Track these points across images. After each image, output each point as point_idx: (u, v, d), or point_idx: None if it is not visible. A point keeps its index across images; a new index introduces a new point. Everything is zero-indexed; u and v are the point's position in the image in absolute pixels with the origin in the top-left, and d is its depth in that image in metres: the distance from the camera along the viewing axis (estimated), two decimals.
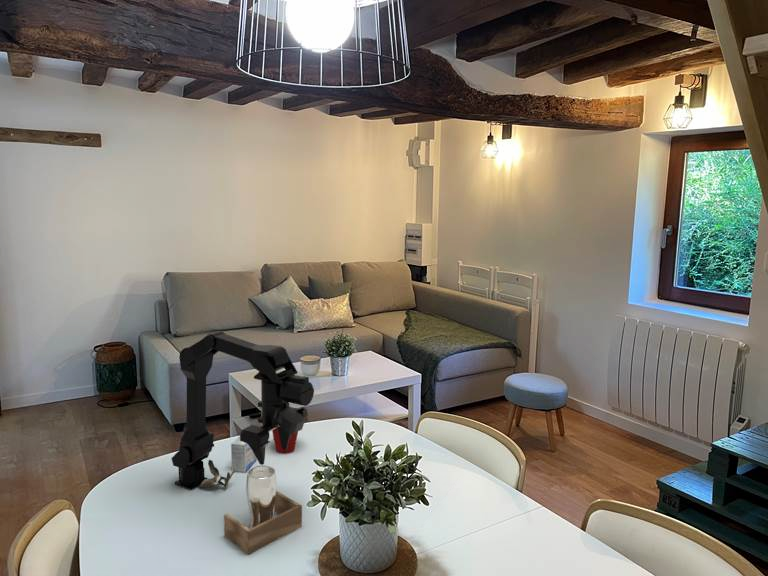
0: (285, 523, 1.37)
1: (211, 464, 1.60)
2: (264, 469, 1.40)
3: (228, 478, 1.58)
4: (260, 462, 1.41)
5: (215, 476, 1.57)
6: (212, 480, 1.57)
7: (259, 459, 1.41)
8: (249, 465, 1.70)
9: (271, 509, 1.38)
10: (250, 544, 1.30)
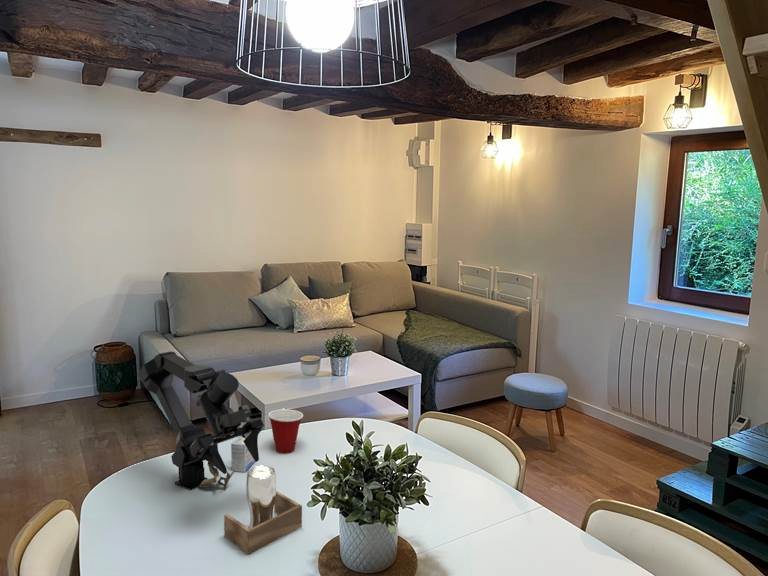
0: (285, 523, 1.37)
1: (211, 464, 1.60)
2: (264, 469, 1.40)
3: (228, 478, 1.58)
4: (223, 471, 1.39)
5: (215, 476, 1.57)
6: (212, 480, 1.57)
7: (221, 468, 1.39)
8: (249, 465, 1.70)
9: (271, 509, 1.38)
10: (250, 544, 1.30)
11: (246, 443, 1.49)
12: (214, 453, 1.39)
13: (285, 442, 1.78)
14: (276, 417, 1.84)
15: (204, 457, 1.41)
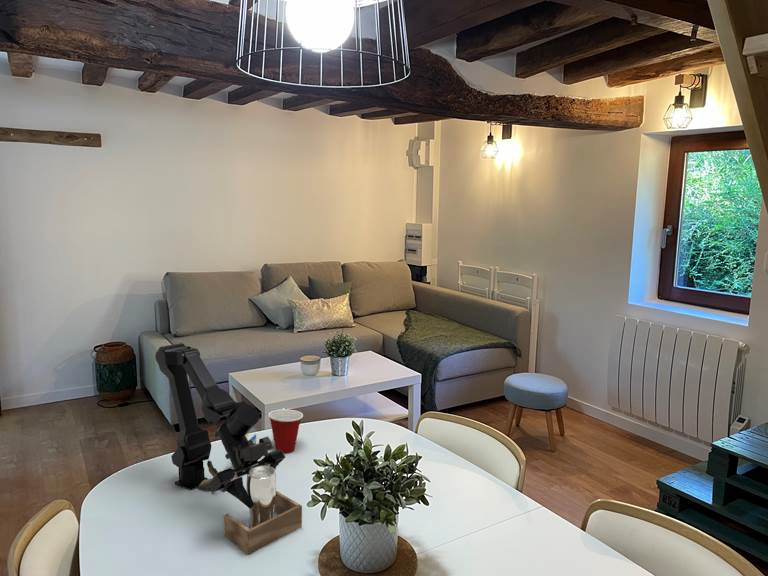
0: (285, 523, 1.37)
1: (210, 465, 1.59)
2: (264, 469, 1.40)
3: None
4: (248, 506, 1.35)
5: None
6: None
7: (246, 503, 1.35)
8: None
9: (271, 509, 1.38)
10: (250, 544, 1.30)
11: None
12: (239, 487, 1.35)
13: (285, 442, 1.78)
14: (276, 417, 1.84)
15: (228, 490, 1.37)
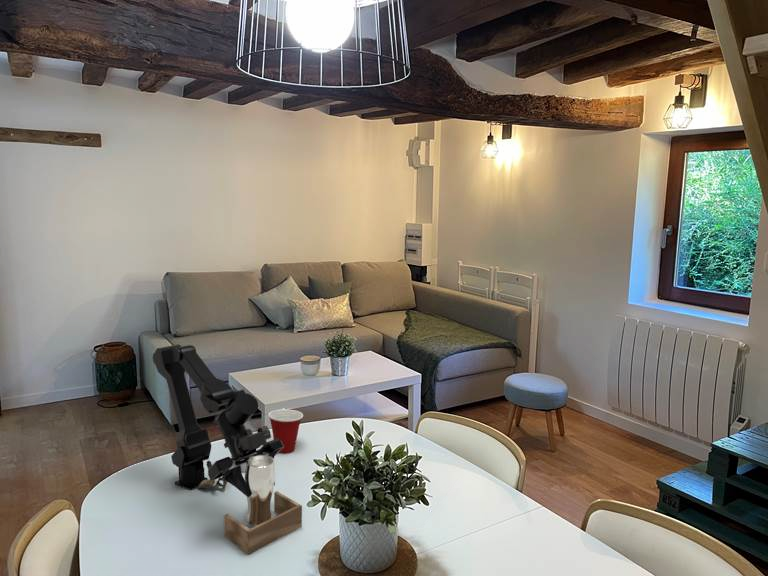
0: (285, 523, 1.37)
1: (209, 465, 1.59)
2: (263, 458, 1.41)
3: None
4: (246, 494, 1.35)
5: None
6: (210, 481, 1.57)
7: (244, 491, 1.36)
8: None
9: (269, 498, 1.38)
10: (250, 544, 1.30)
11: None
12: (237, 475, 1.35)
13: (285, 442, 1.78)
14: (276, 417, 1.84)
15: (227, 479, 1.37)
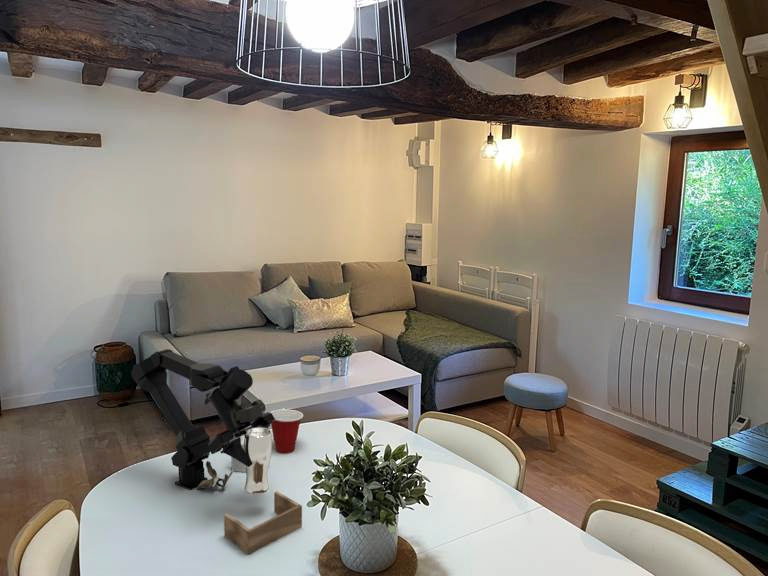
0: (285, 523, 1.37)
1: (209, 465, 1.59)
2: (259, 430, 1.48)
3: (226, 480, 1.57)
4: (247, 464, 1.42)
5: (213, 478, 1.57)
6: (210, 482, 1.56)
7: (244, 462, 1.42)
8: None
9: (267, 467, 1.45)
10: (250, 544, 1.30)
11: None
12: (238, 447, 1.42)
13: (285, 442, 1.78)
14: (276, 417, 1.84)
15: (226, 452, 1.43)
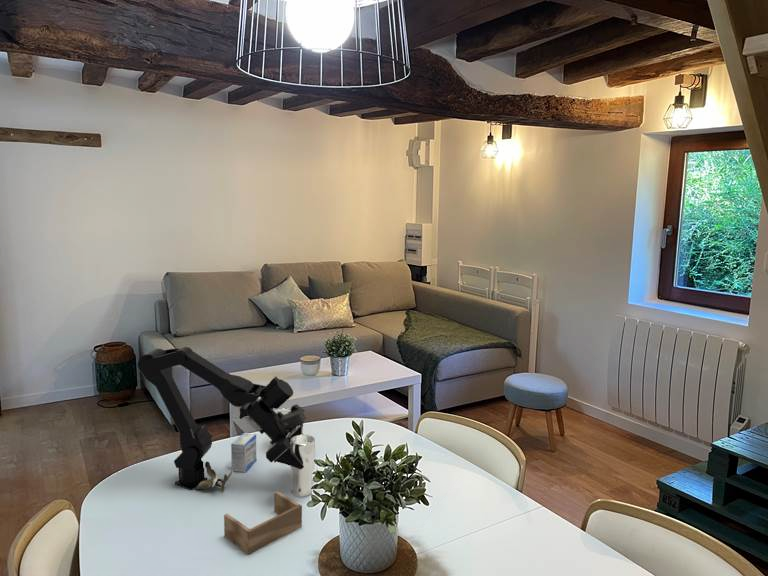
0: (285, 523, 1.37)
1: (208, 466, 1.59)
2: (297, 438, 1.58)
3: (225, 480, 1.57)
4: (300, 467, 1.52)
5: (212, 478, 1.56)
6: (209, 482, 1.56)
7: (297, 465, 1.51)
8: (249, 465, 1.70)
9: None
10: (250, 544, 1.30)
11: None
12: (291, 453, 1.50)
13: None
14: None
15: (278, 460, 1.50)
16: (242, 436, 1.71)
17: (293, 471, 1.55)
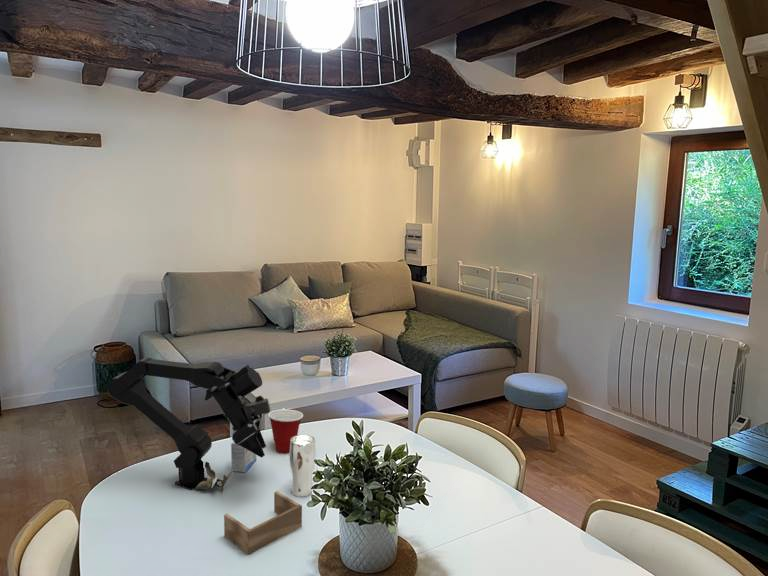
0: (285, 523, 1.37)
1: (207, 466, 1.58)
2: (297, 438, 1.58)
3: (224, 480, 1.57)
4: (261, 455, 1.52)
5: (211, 478, 1.56)
6: (208, 482, 1.56)
7: (259, 452, 1.52)
8: (249, 465, 1.70)
9: None
10: (250, 544, 1.30)
11: None
12: (256, 438, 1.51)
13: (285, 442, 1.78)
14: (276, 417, 1.84)
15: (242, 444, 1.49)
16: None
17: (293, 471, 1.55)
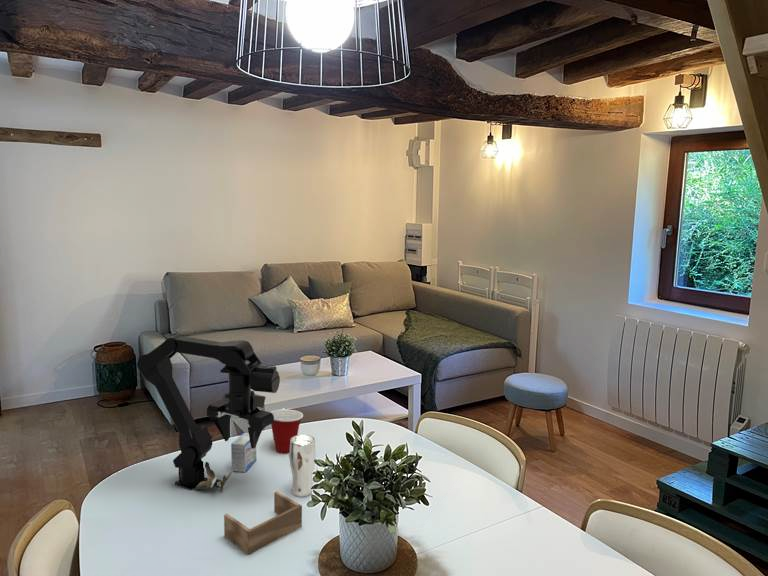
0: (285, 523, 1.37)
1: (207, 466, 1.58)
2: (297, 438, 1.58)
3: (224, 481, 1.56)
4: (254, 446, 1.54)
5: (211, 479, 1.56)
6: (208, 483, 1.56)
7: (255, 443, 1.53)
8: (249, 465, 1.70)
9: None
10: (250, 544, 1.30)
11: (220, 422, 1.56)
12: None
13: (285, 442, 1.78)
14: (276, 417, 1.84)
15: (254, 431, 1.50)
16: (242, 436, 1.71)
17: (293, 471, 1.55)
